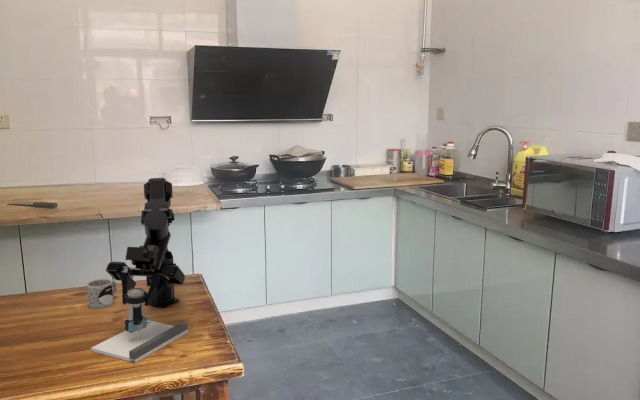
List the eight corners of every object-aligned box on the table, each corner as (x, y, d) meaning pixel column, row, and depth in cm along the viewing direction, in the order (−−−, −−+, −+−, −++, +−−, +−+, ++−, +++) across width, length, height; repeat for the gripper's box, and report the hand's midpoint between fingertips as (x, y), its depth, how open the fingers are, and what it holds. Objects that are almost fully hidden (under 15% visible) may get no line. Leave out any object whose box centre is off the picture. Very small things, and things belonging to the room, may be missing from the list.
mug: (102, 310, 146) (100, 287, 145) (83, 307, 148) (81, 285, 147) (125, 298, 155) (124, 277, 154) (107, 295, 157) (106, 274, 156)
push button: (144, 320, 130) (144, 283, 128) (157, 327, 127) (156, 289, 125) (120, 329, 125) (119, 290, 123) (132, 336, 122) (132, 296, 120)
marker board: (146, 322, 137) (146, 313, 137) (188, 332, 131) (187, 323, 131) (91, 350, 121) (90, 341, 121) (135, 363, 115) (135, 352, 115)
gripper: (107, 230, 127) (83, 288, 118) (177, 233, 124) (157, 293, 115) (126, 252, 136) (105, 307, 128) (192, 255, 133) (175, 312, 124)
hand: (134, 304), depth 123 cm, fingers closed on push button, 5 cm apart
